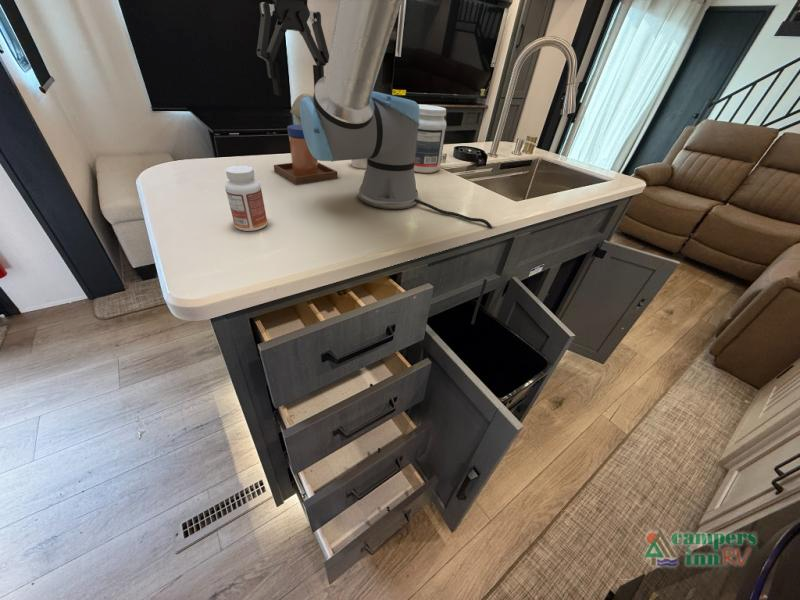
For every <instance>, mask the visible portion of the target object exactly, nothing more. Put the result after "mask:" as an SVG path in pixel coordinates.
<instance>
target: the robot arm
mask: <svg viewBox="0 0 800 600" xmlns="http://www.w3.org/2000/svg"><path fill="white" fill-rule="evenodd" d="M308 1H309V0H272V3H269V2H266V1H265V2H259V5H258V6H259V13H260V20H259V29H258V39H257V44H256V45H257V46H256V55H257V57H258V58H261V59H262V60H264V61H265V63H266V70H267V76H268V78H269V79H271V81H272V89H273V90H272V91H273V95H276V96H283V94H282V85H281V77H280V69H279V62H276V61H275V60H276V57H277V53H278V52H279V49H280V46H281V44H282V41H283V39H284V37H285V34H286V33H287V31H294V32H299V34H300V35H301V36H302V38H303V40H304V43H305V45H306V46H307V49H308V51H309V53H310V54H311V57H312V59H313V60H314V63H315V64H312V73H313V96H309V95H307V96H304V97H302V98H301V99H300V102H299V118H300V125H302V129H303V134H304V137H305V141H306V144H307V146H308V149H309V151H310V153H311V154H312V156H313V157H314V158H315V159H317V160H318V162H331V163H334V162H339V161H351V160H354V159H367V168H365V172H364V174H363V178H362V181H361V185H360V187H359V189H358V190H359V191H358V195H359V197H358V198H359V200H360V201H361V202H362V203H364V204H366V205H367V206H370V207H373V208H377V209H382V210H404V209H410V208H413V207H414V206H415V205H416V204H419V205H421V206H424V207H425V208H426V207H427V208H428V209H431V210H433V211H435V212H438V213H440V214H442V215H443V214H444V215H449V216H453V217H457V218H460V219H464V220H465V221H468V222H478V223H482V224H485V225H486V226H487V228H488V229H491V230H492V229H494V228H493V226H492V224H491V223H490V222H489V221H488V220H486V219H484V218H479V217H471V216H467V215H464V214H461V213H458V212H455V211H454V212H453V211H448V210H444V209H441V208H438V207H436V206H434V205H432V204H429V203H427V202H425V201H422V200H420V199H419V192H418V189H417V181H416V176H415V171H414V162H415V154H416V144H417V135H418V126H419V124H420V123H419V112H420V109H419V105H418V103H417V101H415V100H412V99H408V98H404V97H401V96H397V95H392V94H387V93H383V92H379V91H374V88H375V84H376V81H377V79H378V75H379V72H380V69H381V66H382V64H383V60H384V57H385V54H386V51H387V48H388V44H389V41H390V39H391V36H392V33H393V29H394V28H395V23H396V22H397V18H398V15H399V11H400V9H401V5H402V2H403V0H338V6H337V11H336V17H335V23H334V28H333V34H332V39H331V44H330V50H329V48H328V46H327V42H326V38H325V34H324V30H323V25H322V14H321V12H320V11H312V10H310V9H309V6H308ZM273 14H274V16H275V17H276V18H277V20H276V22H275V26H274V30H273V33H272V36H271V38H270V30H271V23H272V16H273ZM308 21H310V23H311V28H312V30H311V28H310V26H309V25H308ZM312 32H313V35H314V37H313V35H312ZM269 38H270V40H269ZM326 65H327V67H326V72H325V69H324V68H325V66H326ZM487 283H488V279H486V278H484V279H483V282H482V285H481V289H480V293H479V296H478V298H477V301H476V305H475V308H474V311H473V315H472V319H471V321H470V322H471V325H475V322H476V317H477V314H478V311H479V308H480V306H481V305H480V304H481V302H482V298H483V295H484V292H485V290H486V287H487Z"/></svg>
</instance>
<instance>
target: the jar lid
mask: <svg viewBox="0 0 800 600" xmlns="http://www.w3.org/2000/svg"><path fill="white" fill-rule="evenodd" d="M287 136H288V137H289V136H292V137H297V138H305V137H304V134H303V129H302V124H290V125H288V126H287Z"/></svg>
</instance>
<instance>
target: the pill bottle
mask: <svg viewBox="0 0 800 600" xmlns="http://www.w3.org/2000/svg"><path fill="white" fill-rule="evenodd" d="M225 174H226V177H227V179H228V180H227V181H226V183H225V184H224V185H225V186H224V187H225V188H224V189H225V192H226V196H227V200H228V204H229V208H230V212H231V216H232V220H233V224H234V226H235V228H236V229H238V230H239V231H240V230H241V231H244V232H245V231H246V232H252V231H258V230H262V229H263V228H265V227H266V226H267V225H268V218H267V212H266V207H265V202H264V197H263V191H262V186H261V184H260V181H258V180H257V179H255V175H256V174H255V171H254V168H253V167H251V166H249V165H232V166H229V167H226V169H225Z"/></svg>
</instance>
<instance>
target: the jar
mask: <svg viewBox="0 0 800 600" xmlns="http://www.w3.org/2000/svg"><path fill="white" fill-rule="evenodd" d="M288 140H289V149H290V159H291V163H292V169H293V174H294V175H296V176H305V175H312V174H318V162H319V160H317V159H315V158H314V157H313V156H312V154H311V153H310V151H309V149H308V146H307V144H306V141H305V138H297V137H292V136H289V135H288Z"/></svg>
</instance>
